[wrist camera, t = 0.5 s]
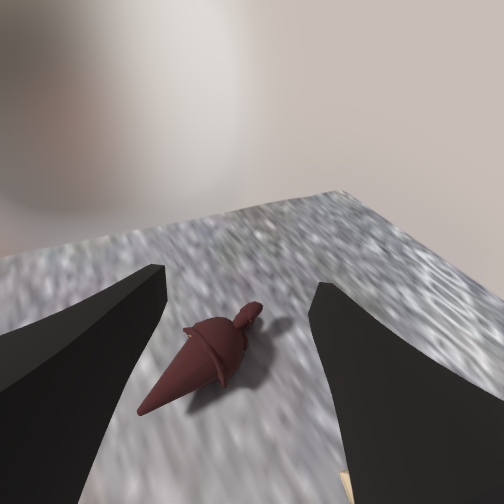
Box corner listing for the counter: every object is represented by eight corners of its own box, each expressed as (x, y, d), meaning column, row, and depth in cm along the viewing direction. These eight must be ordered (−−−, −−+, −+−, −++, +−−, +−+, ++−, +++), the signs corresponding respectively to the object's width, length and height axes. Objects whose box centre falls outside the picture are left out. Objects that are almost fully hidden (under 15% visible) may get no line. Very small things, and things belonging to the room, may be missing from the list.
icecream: (152, 465, 14) (288, 324, 22) (105, 371, 16) (243, 276, 24) (164, 450, 19) (270, 341, 27) (127, 381, 21) (234, 300, 30)
